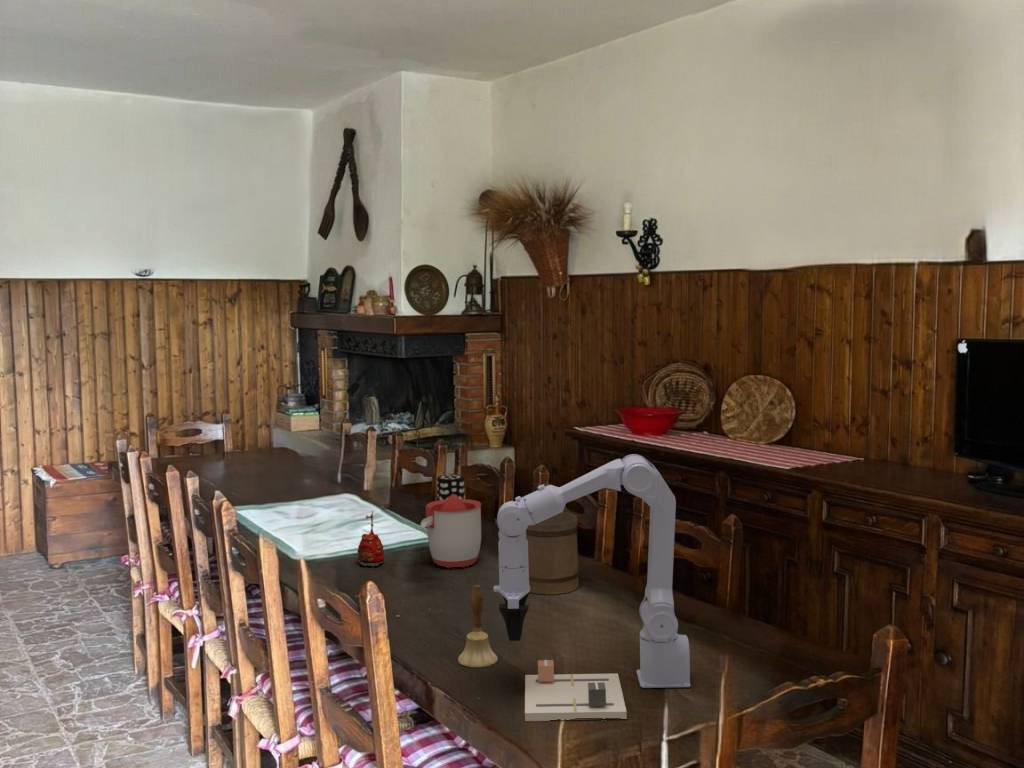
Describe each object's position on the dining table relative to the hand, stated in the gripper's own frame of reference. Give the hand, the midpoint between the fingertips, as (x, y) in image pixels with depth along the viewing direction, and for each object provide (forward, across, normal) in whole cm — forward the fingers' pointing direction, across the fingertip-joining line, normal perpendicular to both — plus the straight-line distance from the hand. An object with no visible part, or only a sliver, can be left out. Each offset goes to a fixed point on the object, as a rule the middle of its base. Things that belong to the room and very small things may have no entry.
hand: (515, 632), depth 186 cm
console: (+10, +8, +11) cm, 17 cm away
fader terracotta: (+8, +3, +6) cm, 10 cm away
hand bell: (+10, -12, -8) cm, 18 cm away
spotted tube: (+10, -108, -23) cm, 111 cm away
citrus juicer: (+10, -83, -21) cm, 86 cm away
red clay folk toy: (+10, -83, -44) cm, 95 cm away
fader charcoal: (+8, +14, +15) cm, 22 cm away
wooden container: (+10, -61, +7) cm, 63 cm away
